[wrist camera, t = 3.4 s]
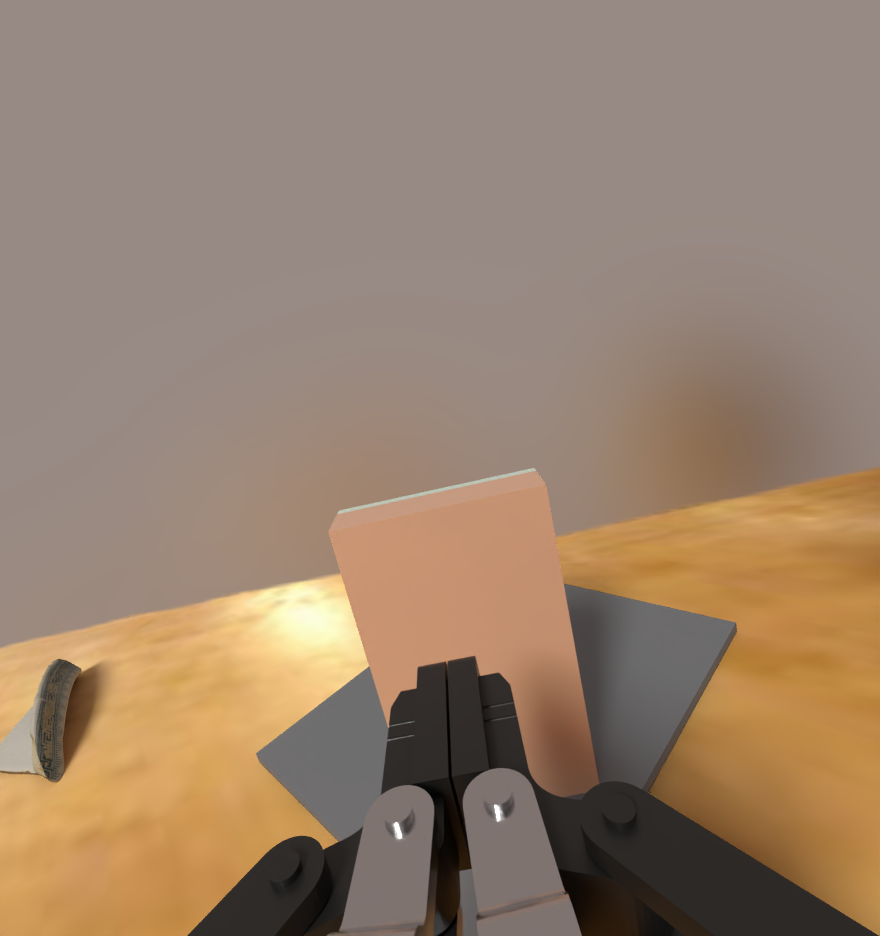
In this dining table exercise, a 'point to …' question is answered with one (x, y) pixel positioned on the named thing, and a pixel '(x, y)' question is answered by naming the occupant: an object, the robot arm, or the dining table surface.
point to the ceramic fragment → (42, 727)
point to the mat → (605, 694)
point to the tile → (473, 606)
